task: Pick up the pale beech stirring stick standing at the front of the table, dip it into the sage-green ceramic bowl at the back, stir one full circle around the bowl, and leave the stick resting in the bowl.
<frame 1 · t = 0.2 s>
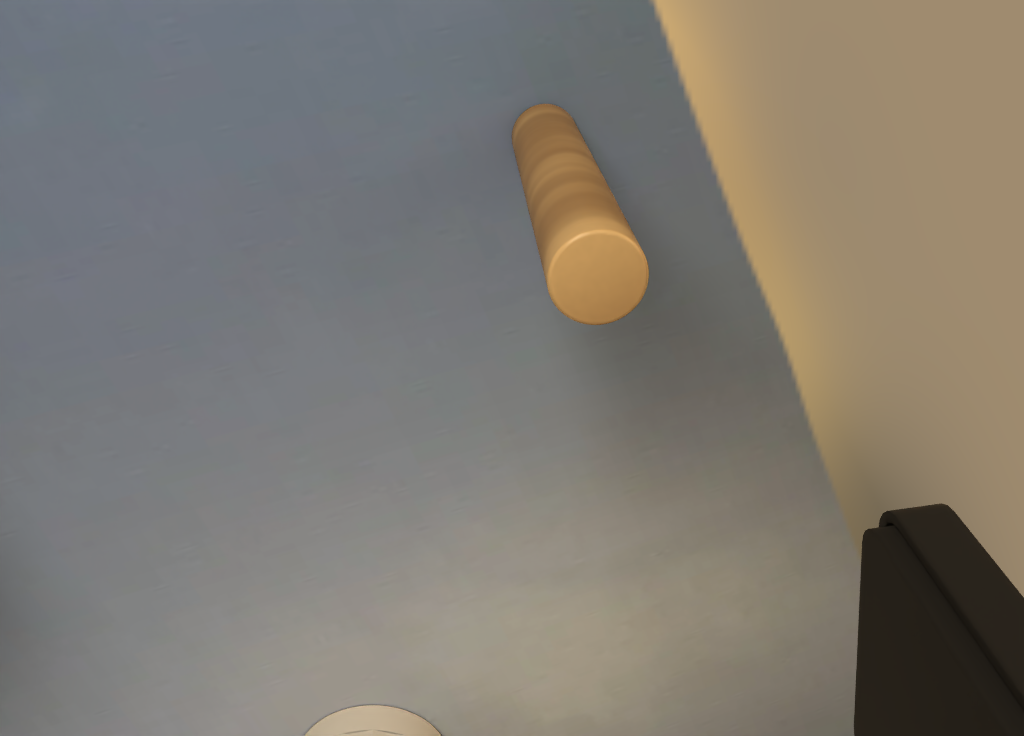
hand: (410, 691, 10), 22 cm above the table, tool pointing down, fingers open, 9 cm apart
stick: (544, 136, 30), on the table
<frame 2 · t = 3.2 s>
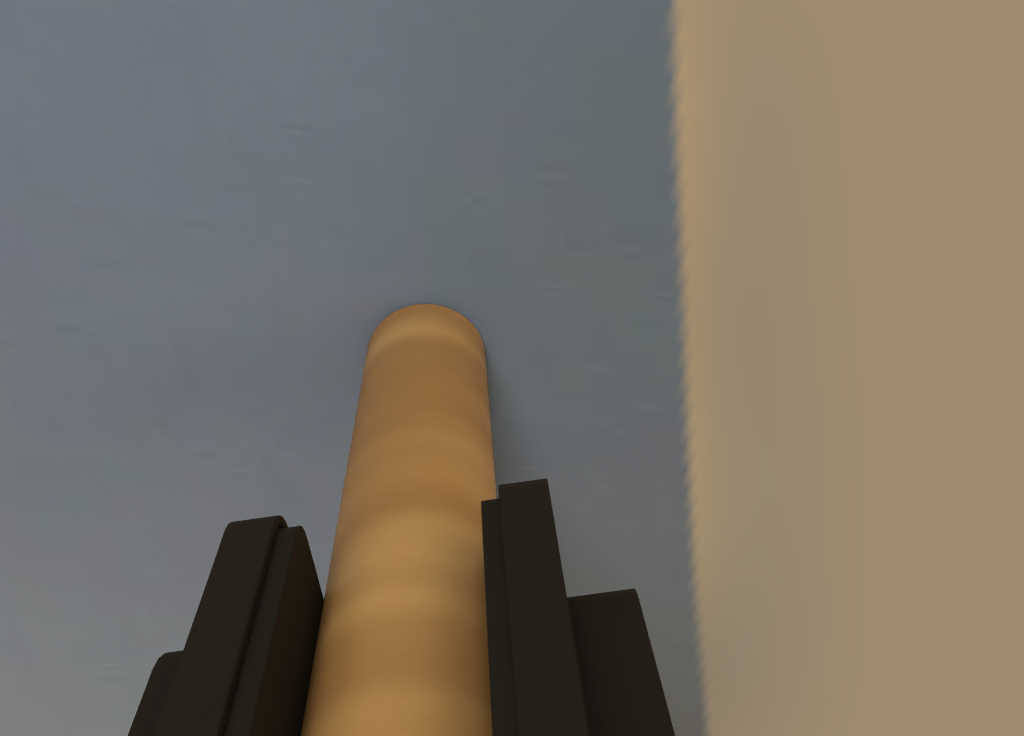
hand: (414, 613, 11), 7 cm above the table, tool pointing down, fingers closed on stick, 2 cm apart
stick: (426, 356, 17), on the table, touching gripper
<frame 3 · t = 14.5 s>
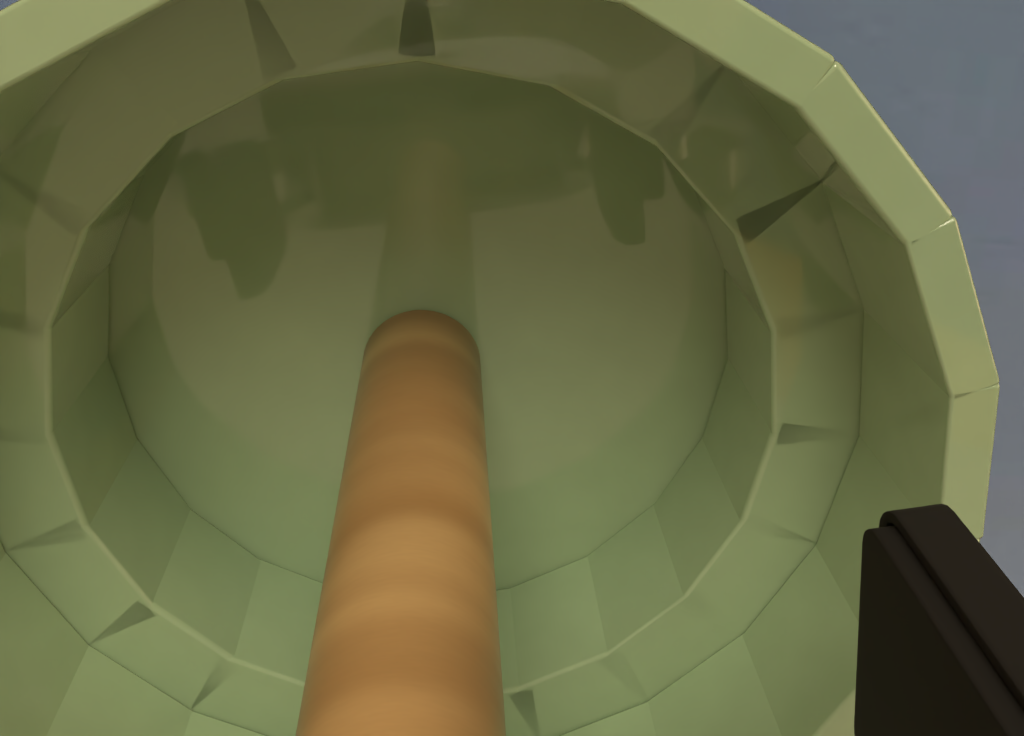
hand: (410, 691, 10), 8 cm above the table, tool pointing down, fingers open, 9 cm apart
bowl: (425, 339, 17), on the table
stick: (422, 361, 17), point 1 cm above the table, touching bowl
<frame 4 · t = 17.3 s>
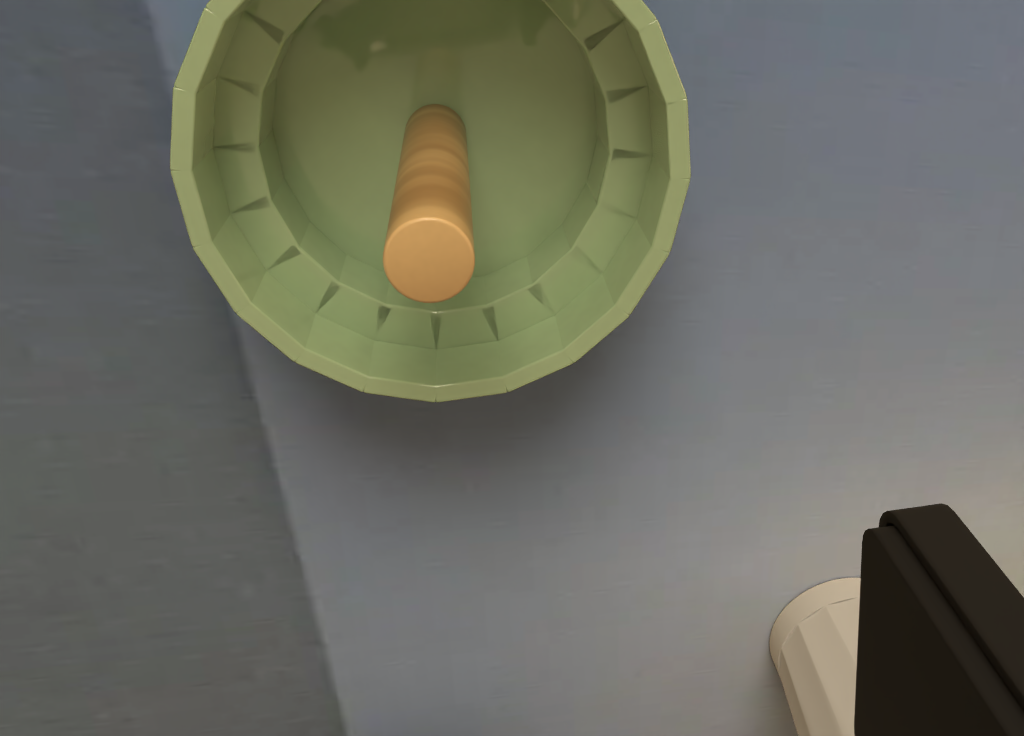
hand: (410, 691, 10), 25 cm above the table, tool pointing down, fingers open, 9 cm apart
bowl: (437, 126, 32), on the table
stick: (435, 134, 32), point 1 cm above the table, touching bowl
cup: (838, 631, 43), on the table
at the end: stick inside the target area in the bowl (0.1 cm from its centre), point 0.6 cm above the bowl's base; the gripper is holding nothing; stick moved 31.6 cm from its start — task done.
